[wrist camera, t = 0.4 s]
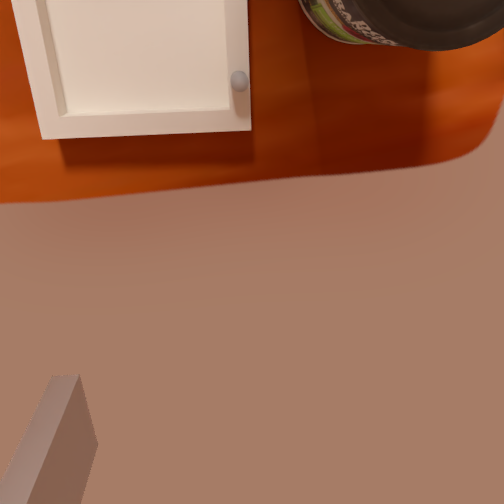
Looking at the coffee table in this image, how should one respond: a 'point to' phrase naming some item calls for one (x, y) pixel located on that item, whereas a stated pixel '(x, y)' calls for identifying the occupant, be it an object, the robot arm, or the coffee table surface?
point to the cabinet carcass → (136, 66)
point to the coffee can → (407, 21)
